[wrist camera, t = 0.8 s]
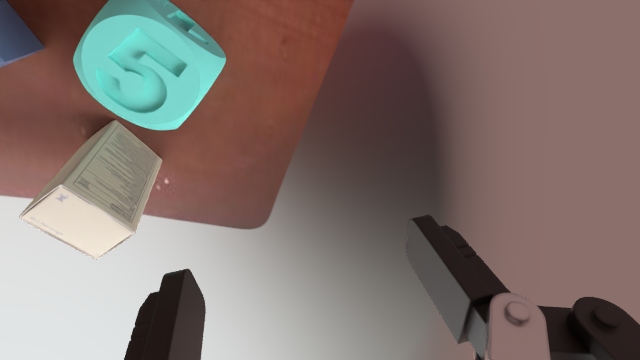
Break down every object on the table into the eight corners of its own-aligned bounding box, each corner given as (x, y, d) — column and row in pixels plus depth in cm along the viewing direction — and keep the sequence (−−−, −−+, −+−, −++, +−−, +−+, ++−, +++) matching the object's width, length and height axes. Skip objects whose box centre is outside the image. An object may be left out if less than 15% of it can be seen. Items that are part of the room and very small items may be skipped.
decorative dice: (229, 50, 30) (225, 69, 23) (181, 111, 32) (165, 145, 25) (147, -20, 26) (115, -20, 19) (99, 56, 28) (55, 79, 21)
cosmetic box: (84, 141, 31) (10, 216, 21) (117, 116, 31) (57, 181, 21) (136, 182, 35) (94, 263, 25) (167, 160, 34) (136, 234, 24)
